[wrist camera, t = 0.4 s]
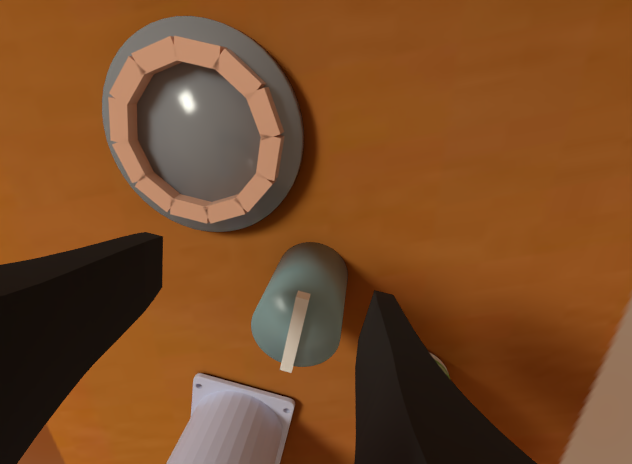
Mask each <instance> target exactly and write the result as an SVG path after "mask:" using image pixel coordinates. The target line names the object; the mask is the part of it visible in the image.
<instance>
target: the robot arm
mask: <svg viewBox="0 0 632 464" xmlns="http://www.w3.org/2000/svg"><path fill="white" fill-rule="evenodd" d="M162 258H163V236H159V235H155V234H151V233H147V232H144V233H138V234H133V235H128V236H124V237H120V238H117V239H113V240H109V241H105V242H102V243H98V244H94V245H90V246H86V247H83V248H79V249H75V250H70V251H66V252H62V253H58V254H53V255H49V256H45V257H41V258H36V259H31V260H26V261H20V262H15V263H9V264H3V265H0V464H17V463H18V461H19V460H20V458H21V457H22V456H23V454H24V453H25V452H26V450H27V449H28V447H29V446H30V445H31V443H32V442H33V440H34V439H35V437H36V436H37V435H38V433H39V432H40V431H41V429H42V428H43V426H44V425H45V424H46V423H47V421H48V420H49V419H50V418H51V416H52V415H53V414H54V412H55V411H56V410H57V408H58V407H59V406H60V404H61V403H62V402H63V400H64V399H65V398H66V397H67V395H68V394H69V393H70V392H71V390H72V389H73V388H74V387H75V385H76V384H77V383H78V382H79V380H80V379H81V378H82V377H83V376H84V374H85V373H86V372H87V371H88V370H89V369H90V368H91V367H92V365H93V364H94V363H95V362H96V361H97V360H98V359H99V358H100V357H101V356H102V355H103V354H104V353H105V352H106V351H107V350H108V349H109V348H110V347H111V346H112V345H113V344H114V343H115V342H116V341H117V340H118V339H119V338H120V337H121V335H122V334H123V333H124V332H125V331H126V330H127V329H128V328H129V327H130V326H131V325H132V324H133V323H134V322H135V321H136V320H137V319H138V318H139V317H140V316H141V315H142V314H143V312H144V311H145V310H146V309H147V308H148V306H149V305H150V304H151V302H152V301H153V300H154V298H155V297H156V295H157V294H158V292H159V291H160V290H161V288H162ZM355 389H356V450H355V462H354V464H537V463H535V462H534V461H533V460H532V459H531V458H530V457H528V456H527V455H526V454H525V453H524V452H523V451H522V450H520V449H519V448H518V447H517V446H516V445H515V444H514V443H512V442H511V441H510V440H509V439H508V438H507V437H506V436H505V435H503V434H502V433H501V432H500V431H499V430H498V429H497V428H496V427H495V426H494V425H493V424H492V423H491V422H490V421H489V420H488V419H487V418H486V417H485V416H484V415H483V414H482V413H481V412H480V411H479V410H478V409H477V408H476V407H475V406H474V405H473V404H472V403H471V402H470V401H469V400H468V399H467V398H466V397H465V396H464V395H463V394H462V393H461V391H460V390H459V389H458V388H457V387H456V386H455V384H454V383H453V382H452V381H451V380H450V379H449V377H448V376H447V375H446V374H445V373H444V371H443V370H442V369H441V368H440V366H439V365H438V364H437V362H436V361H435V360H434V358H433V357H432V356H431V354H430V353H429V352H428V350H427V349H426V347H425V346H424V344H423V343H422V342H421V340H420V339H419V337H418V336H417V334H416V332H415V331H414V329H413V328H412V326H411V324H410V323H409V321H408V319H407V318H406V316H405V314H404V313H403V311H402V309H401V307H400V306H399V304H398V302H397V301H396V299H395V297H394V296H393V295H391V294H387V293H383V292H379V291H374V294H373V297H372V300H371V303H370V306H369V309H368V312H367V315H366V318H365V321H364V324H363V327H362V330H361V333H360V336H359V340H358V348H357V357H356V366H355ZM294 407H295V401H294V400H293V399H291V398H288V397H285V396H281V395H277V394H274V393H270V392H267V391H263V390H259V389H256V388H252V387H249V386H245V385H241V384H238V383H234V382H231V381H227V380H224V379H220V378H216V377H213V376H209V375H206V374H202V373H198V374H196V376H195V377H194V380H193V394H192V408H191V418H190V420H189V422H188V424H187V426H186V428H185V429H184V431H183V433H182V435H181V437H180V439H179V441H178V442H177V444H176V446H175V448H174V450H173V452H172V454H171V456H170V457H169V459H168V461H167V463H166V464H280V460H281V457H282V453H283V449H284V445H285V441H286V438H287V434H288V430H289V426H290V422H291V419H292V415H293V411H294Z"/></svg>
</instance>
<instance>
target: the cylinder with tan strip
mask: <svg viewBox="0 0 632 464" xmlns="http://www.w3.org/2000/svg"><path fill="white" fill-rule="evenodd" d="M347 280H348V271H347V267H346V264H345V262H344V260H343V259H342V257H341V256H340V255H339V254H338V253H337V252H336V251H334V250H333V249H332V248H330V247H328V246H326V245H323V244H320V243H314V242H306V243H301V244H297V245H295V246H293V247H291V248H290V249H289V250H287V251H286V252H285V254H284V255H283V256H282V258H281V260H280V262H279V264H278V266H277V268H276V270H275V272H274V274H273V276H272V278H271V280H270V282H269V284H268V286H267V288H266V290H265V292H264V294H263V296H262V298H261V300H260V302H259V304H258V306H257V308H256V310H255V312H254V314H253V316H252V321H251V329H252V334H253V336H254V339H255V341H256V342H257V344H258V345H259V347H260V348H261V349H262V350H263V351H264V352H265V353H266V354H267V355H269V356H270V357H271V358H273V359H275V360H277V361H279V362H281V367H280V370H283V371H286V372H290V373H291V372H292V369H293V366H298V367H306V366H313V365H317V364H320V363H322V362H324V361H326V360H327V359H329V358H330V357H331V356H332V355H333V354H334V353H335V351H336V350H337V348H338V346H339V342H340V336H341V328H342V320H343V312H344V304H345V296H346V288H347Z"/></svg>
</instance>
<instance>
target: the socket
mask: <svg viewBox="0 0 632 464" xmlns="http://www.w3.org/2000/svg"><path fill="white" fill-rule="evenodd" d="M102 115H103V124H104V130H105V134H106V138H107V142H108V145H109V148H110V150H111V153H112V155H113V158H114V160H115V162H116V164H117V166H118V168H119V169H120V171H121V173H122V174H123V176H124V178H125V179H126V180H127V182H128V183H129V184H130V186H131V187H132V188H133V189H134V191H135V192H136V193H137V194H138V195H139V196H140V197H141V198H142V199H143V200H144V201H145V202H146V203H147V204H149V205H150V206H151V207H152V208H153V209H155V210H156V211H158V212H159V213H160V214H162V215H164V216H165V217H167V218H169V219H170V220H172V221H174V222H177V223H179V224H181V225H184V226H187V227H190V228H193V229H197V230H202V231H211V232H226V231H233V230H238V229H242V228H245V227H248V226H251V225H253V224H255V223H256V222H258V221H260V220H262V219H263V218H265V217H266V216H268V215H269V214H270V213H271V212H272V211H273V210H274V209H275V208H277V207H278V205H279V204H280V203H281V202H282V200H283V199H284V198H285V197H286V195H287V194H288V193H289V191H290V189H291V187H292V186H293V184H294V182H295V180H296V177H297V175H298V173H299V170H300V166H301V162H302V158H303V150H304V127H303V120H302V114H301V110H300V107H299V103H298V100H297V97H296V95H295V92H294V90H293V88H292V86H291V84H290V82H289V80H288V78H287V76H286V75H285V73H284V72H283V70H282V69H281V67H280V66H279V65H278V63H277V62H276V61H275V60H274V58H273V57H272V56H271V55H270V54H269V53H268V52H267V51H266V50H265V49H264V48H263V47H262V46H261V45H259V44H258V43H257V42H256V41H255V40H253V39H252V38H250V37H249V36H247V35H246V34H244V33H243V32H241V31H239V30H237V29H235V28H233V27H230V26H228V25H226V24H223V23H220V22H217V21H214V20H210V19H207V18H201V17H194V16H176V17H171V18H165V19H161V20H159V21H156V22H153V23H150V24H149V25H147V26H145V27H143V28H142V29H140V30H138V31H137V32H136V33H135V34H134V35H132V36H131V37H130V38H129V39H128V40H127V41H126V42H125V43H124V44H123V46H122V47H121V48H120V49H119V51H118V52H117V54H116V56H115V57H114V59H113V61H112V63H111V65H110V68H109V70H108V73H107V76H106V80H105V84H104V89H103V98H102Z"/></svg>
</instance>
